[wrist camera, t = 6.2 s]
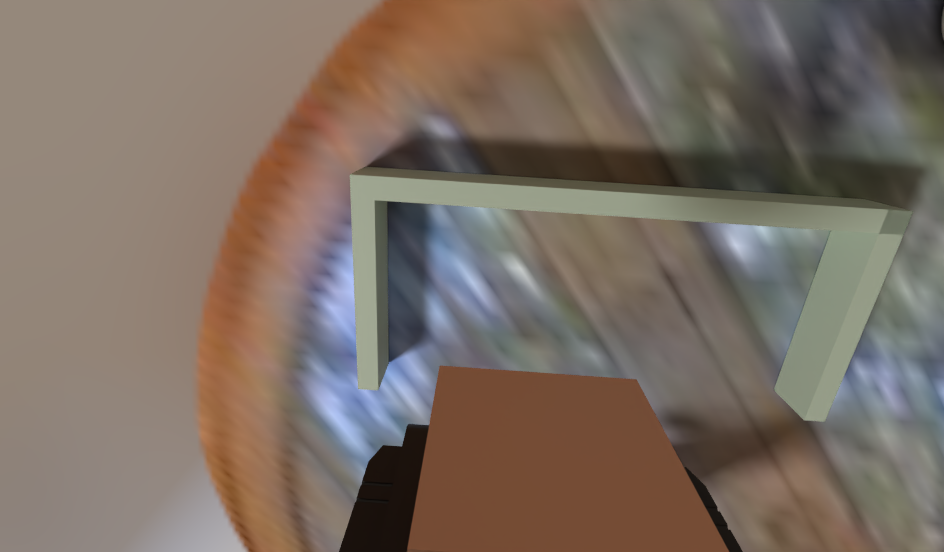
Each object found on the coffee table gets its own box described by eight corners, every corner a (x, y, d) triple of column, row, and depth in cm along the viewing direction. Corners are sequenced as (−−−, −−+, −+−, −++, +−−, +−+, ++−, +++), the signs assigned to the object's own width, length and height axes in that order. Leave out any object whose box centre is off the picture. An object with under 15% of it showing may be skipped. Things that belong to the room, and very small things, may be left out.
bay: (864, 199, 20) (913, 211, 18) (792, 391, 24) (824, 421, 22) (365, 166, 21) (350, 174, 18) (370, 361, 25) (358, 388, 22)
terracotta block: (636, 379, 10) (740, 573, 6) (603, 522, 12) (667, 753, 8) (440, 365, 10) (406, 549, 6) (433, 510, 12) (405, 733, 8)
